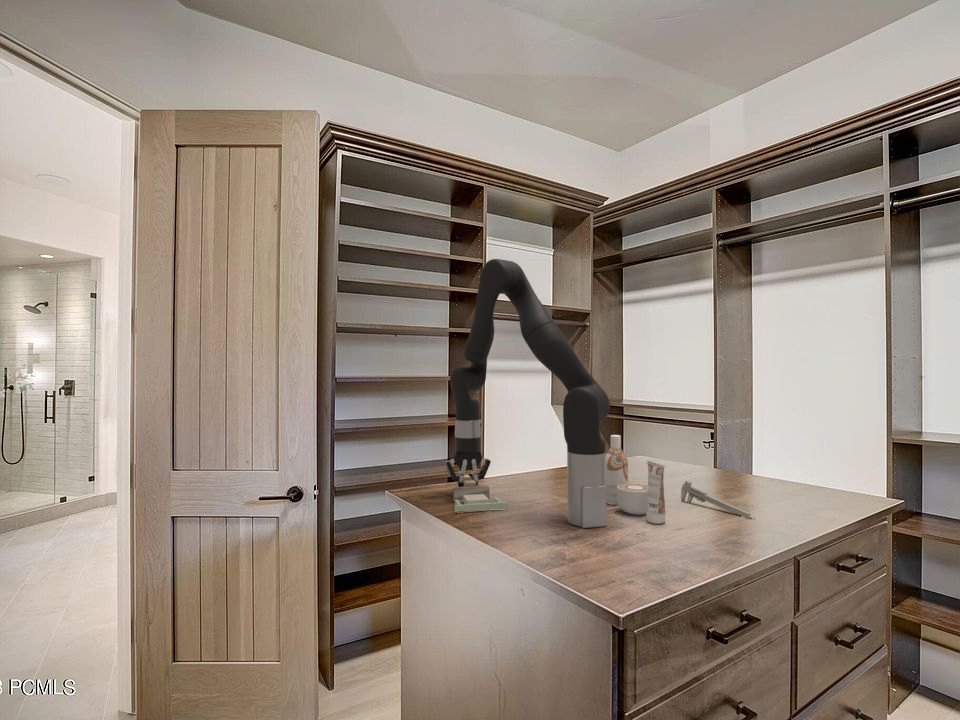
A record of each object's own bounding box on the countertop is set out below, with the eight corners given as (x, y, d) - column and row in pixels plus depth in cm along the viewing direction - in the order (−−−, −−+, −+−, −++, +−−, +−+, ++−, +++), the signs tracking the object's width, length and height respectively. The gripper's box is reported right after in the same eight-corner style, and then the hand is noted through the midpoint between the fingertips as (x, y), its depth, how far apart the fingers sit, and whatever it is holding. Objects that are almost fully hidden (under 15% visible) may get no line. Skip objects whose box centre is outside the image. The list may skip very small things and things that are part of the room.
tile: (488, 508, 141) (488, 499, 141) (467, 510, 139) (467, 500, 139) (483, 502, 147) (483, 493, 147) (462, 504, 145) (462, 495, 145)
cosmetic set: (680, 524, 125) (680, 446, 125) (647, 528, 123) (647, 448, 123) (624, 498, 149) (623, 433, 149) (595, 501, 147) (595, 434, 147)
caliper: (680, 502, 146) (680, 480, 146) (683, 501, 147) (683, 479, 147) (753, 520, 129) (752, 495, 129) (755, 520, 130) (755, 495, 130)
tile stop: (507, 510, 138) (507, 502, 138) (455, 513, 135) (455, 506, 135) (500, 504, 144) (500, 496, 144) (451, 507, 140) (451, 500, 140)
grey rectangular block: (489, 500, 147) (489, 482, 147) (454, 502, 145) (454, 484, 145) (478, 489, 160) (478, 473, 160) (446, 491, 158) (446, 475, 158)
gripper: (446, 437, 146) (446, 499, 146) (494, 436, 150) (494, 496, 150) (441, 434, 154) (442, 493, 153) (487, 432, 157) (488, 490, 157)
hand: (468, 494), depth 151 cm, fingers closed on grey rectangular block, 3 cm apart
